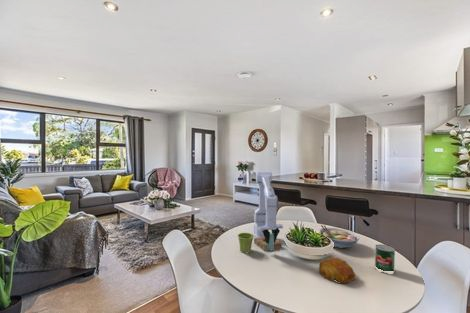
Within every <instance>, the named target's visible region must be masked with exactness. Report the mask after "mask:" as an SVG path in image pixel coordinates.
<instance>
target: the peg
mask: <svg viewBox="0 0 470 313" xmlns="http://www.w3.org/2000/svg"><path fill="white" fill-rule="evenodd" d="M267 249H269V250H268V251H271V250H272V251H273V250H275V249H274V234H273V233H272V232H270V236H269V244H267Z"/></svg>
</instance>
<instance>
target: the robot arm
mask: <svg viewBox="0 0 470 313" xmlns="http://www.w3.org/2000/svg"><path fill="white" fill-rule="evenodd" d="M272 181H273V173H272V171H257V172H256V173H255V183H256V184H257V185H258V208H257V209H255V211H254V214H253V221H254V224H253V233H252V234H253V235H254V237H255V238H259V237H265V241H266V243H267V244H269V236H270V233H273V234H274V243H275V241H276V239H277V237H278V235H279V234H280V231H281V230H280V229H283V228H284V225H283V224H282V223H277V210H278V209H277V208H278V207H279V199H278V196H277V195H276V194H275V190H274V188H273V187H272V186H271V182H272Z"/></svg>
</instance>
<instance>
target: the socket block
mask: <svg viewBox="0 0 470 313" xmlns="http://www.w3.org/2000/svg"><path fill="white" fill-rule="evenodd" d="M253 244H254V245H255V246H257V247H259V248H260V249H261V250H262V251H263V252H265V251H266V252H267V251H270V250H269V249H267V243H266V241H265V237H259V238H257V237H254V238H253ZM277 249H282V242H281V241H280V240H278V239H277V238H276V241H275V243H274V249H273V250H277Z"/></svg>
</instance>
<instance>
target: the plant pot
mask: <svg viewBox="0 0 470 313" xmlns="http://www.w3.org/2000/svg"><path fill="white" fill-rule="evenodd" d="M237 237H238V241H239V242H238V243H239V251H240V252H241V253H245V254H246V253H250V252H251V251H252V244H253V241H254V238H255V236H254V235H253V233H249V232H239V233H238V234H237Z"/></svg>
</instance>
